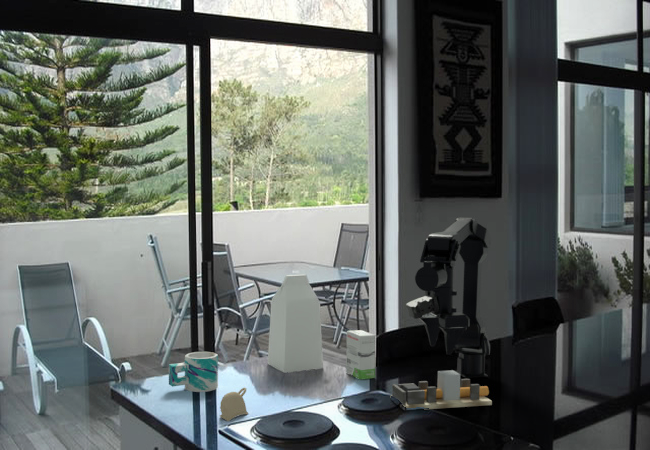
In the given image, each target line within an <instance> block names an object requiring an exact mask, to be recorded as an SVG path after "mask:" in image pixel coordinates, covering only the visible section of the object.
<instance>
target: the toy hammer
mask: <svg viewBox="0 0 650 450" xmlns="http://www.w3.org/2000/svg"><path fill="white" fill-rule="evenodd" d="M436 385H437V387H436V399H439V398H441V399H443V400H460V397H470V387H463V388H461V375H460V374H459V373H457V372H456V370H453V369H451V370H437V384H436ZM403 390H404V391H405V392H406V401H407V391H414V390H420V388H419V385H418V386H417V385H416V384H415V385H403ZM424 391H425V399H427V390H424ZM489 394H490V390H489V387H488V386H487V385H484V386H483V385H482V386H481V385H480V392H479V396H485V397H486V396H488V395H489Z"/></svg>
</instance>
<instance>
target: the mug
mask: <svg viewBox="0 0 650 450" xmlns="http://www.w3.org/2000/svg"><path fill="white" fill-rule="evenodd" d="M218 368H219V355H218V354H217V353H215V352H211V351H194V352H189V353H186V354H185V355H184V362H179V363H169V364H168V385H169V386H171V387H172V388H173V387H178V386H184V390H187V391H188V392H196V393H204V392H205V393H206V392H211V391H216V390H217V388H218V386H219V385H218V384H219V383H218V381H219V380H218V379H219V369H218ZM183 371H184V375H178V372H183Z"/></svg>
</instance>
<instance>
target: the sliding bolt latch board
mask: <svg viewBox="0 0 650 450" xmlns="http://www.w3.org/2000/svg"><path fill="white" fill-rule="evenodd" d="M403 385H416V384H415V383H398V384H396V383H395V384H392V387H391V388H392V389H391V392H392V394H391V396H393V397H395V398H397V399H398V400H399V401H400V402H401V403H402V405H403V406H404V407H406V408H416V407H424V408H429V409H428V410H434V409H435V410H437V409H450V408H465V407H467V408H469V407H479V406H480V407H481V406H492V405H493V401H492V400H491V399H490V398H488V397H487V396H486V395H485V396H479V392H480V386H481V385H480V384H479V383H471V379H470V378H460V388H463V387H470V397H460V400H443V399H441V398H439V399H436V389H437V387H436V386H434V385H433V386H429V382H428V381H427V380H421V381H418V387H419V388H420V390H414V391H407V401H406V392H405V391H404V390H403ZM424 390H427V399H425V391H424Z"/></svg>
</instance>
